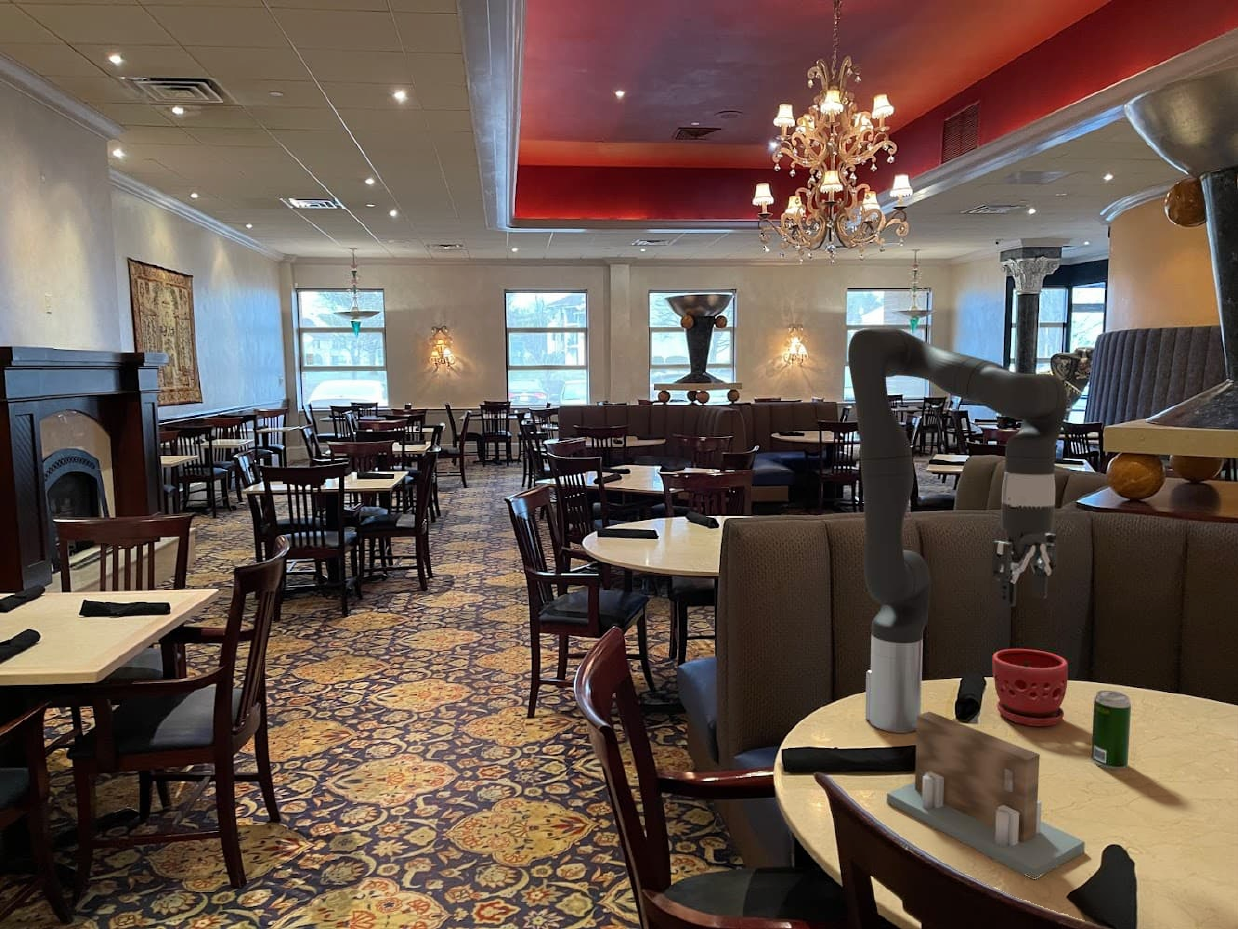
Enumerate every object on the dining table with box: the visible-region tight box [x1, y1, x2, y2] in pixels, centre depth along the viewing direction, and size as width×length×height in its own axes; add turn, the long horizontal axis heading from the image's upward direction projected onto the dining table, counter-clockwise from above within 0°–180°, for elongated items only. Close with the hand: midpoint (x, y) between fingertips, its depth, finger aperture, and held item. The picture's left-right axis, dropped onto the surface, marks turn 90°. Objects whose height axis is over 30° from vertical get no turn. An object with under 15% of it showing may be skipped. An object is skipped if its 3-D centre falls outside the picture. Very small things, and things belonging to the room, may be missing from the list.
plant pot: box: [991, 648, 1069, 727], centre depth 160 cm, size 13×13×12 cm
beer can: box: [1091, 690, 1132, 771], centre depth 140 cm, size 5×5×12 cm
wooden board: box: [914, 711, 1041, 843], centre depth 122 cm, size 18×3×12 cm, turn 32°
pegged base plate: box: [886, 771, 1086, 879], centre depth 121 cm, size 24×12×6 cm, turn 32°
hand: (1023, 601), depth 132 cm, fingers open, 8 cm apart
